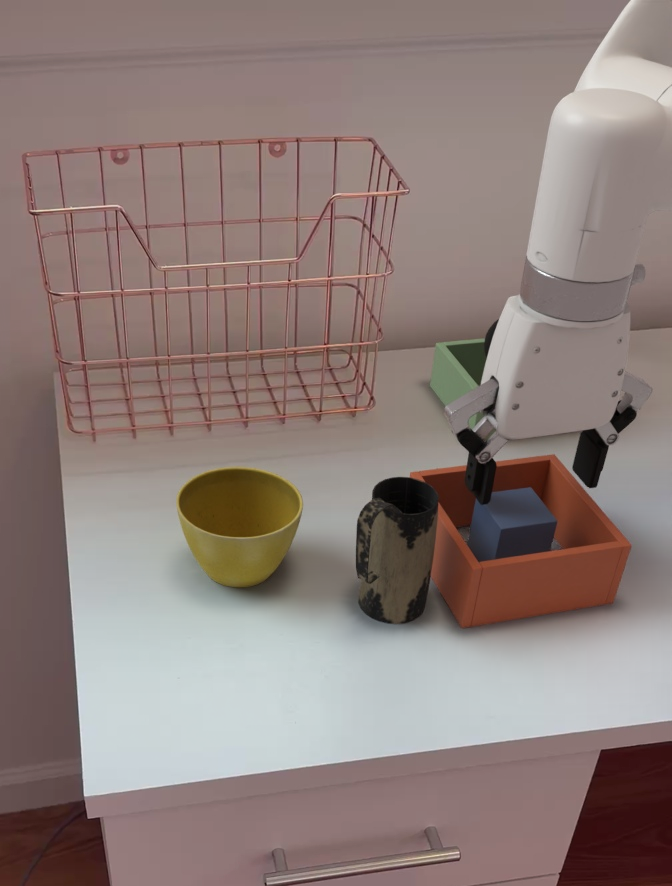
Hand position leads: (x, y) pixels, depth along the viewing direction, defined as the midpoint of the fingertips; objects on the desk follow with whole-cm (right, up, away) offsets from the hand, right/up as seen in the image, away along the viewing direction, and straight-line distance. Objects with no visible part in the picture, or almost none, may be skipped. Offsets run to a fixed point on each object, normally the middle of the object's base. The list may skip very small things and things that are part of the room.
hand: (531, 486), depth 85 cm
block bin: (-2, -7, +4) cm, 8 cm away
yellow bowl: (-24, -7, +2) cm, 25 cm away
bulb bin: (+2, +11, +24) cm, 26 cm away
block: (-2, -6, +3) cm, 7 cm away
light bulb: (+2, +12, +23) cm, 26 cm away
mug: (-12, -11, -1) cm, 16 cm away
